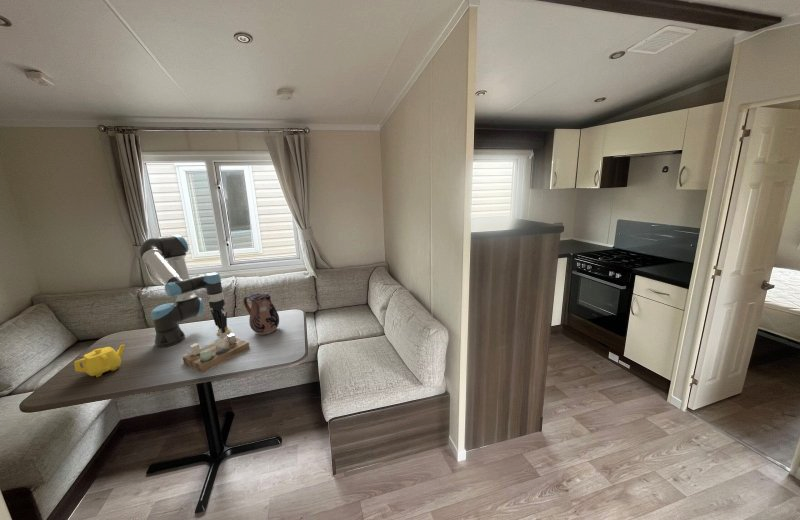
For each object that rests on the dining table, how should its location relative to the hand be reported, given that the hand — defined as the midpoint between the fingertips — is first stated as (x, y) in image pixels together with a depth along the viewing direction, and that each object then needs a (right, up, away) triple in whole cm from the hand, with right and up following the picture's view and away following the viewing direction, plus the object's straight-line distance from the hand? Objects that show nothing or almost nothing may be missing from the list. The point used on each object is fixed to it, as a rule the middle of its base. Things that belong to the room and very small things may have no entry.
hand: (223, 337), depth 175 cm
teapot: (-53, -13, -17) cm, 57 cm away
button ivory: (+6, -2, -12) cm, 14 cm away
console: (+2, -8, -8) cm, 12 cm away
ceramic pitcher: (+15, -1, +19) cm, 24 cm away
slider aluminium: (+7, -3, -3) cm, 8 cm away
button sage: (+2, -6, -19) cm, 20 cm away
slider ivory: (-7, -5, -13) cm, 16 cm away
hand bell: (-11, -2, +20) cm, 23 cm away
